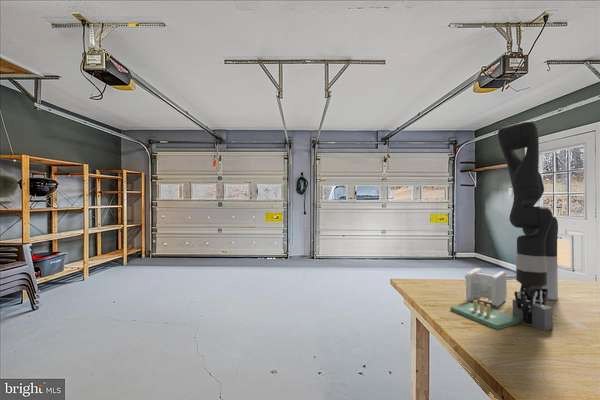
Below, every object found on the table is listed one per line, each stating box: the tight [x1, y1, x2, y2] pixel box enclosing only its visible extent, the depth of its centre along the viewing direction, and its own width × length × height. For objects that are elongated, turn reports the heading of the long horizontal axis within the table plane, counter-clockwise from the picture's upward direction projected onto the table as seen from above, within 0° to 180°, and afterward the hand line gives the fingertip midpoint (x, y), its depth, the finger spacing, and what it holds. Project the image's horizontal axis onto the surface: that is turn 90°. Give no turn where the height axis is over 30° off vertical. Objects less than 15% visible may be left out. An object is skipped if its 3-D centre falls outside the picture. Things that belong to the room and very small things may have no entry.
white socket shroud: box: [464, 267, 508, 308], centre depth 107 cm, size 15×11×12 cm
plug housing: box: [512, 298, 554, 332], centre depth 87 cm, size 4×9×7 cm, turn 22°
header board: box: [450, 299, 522, 330], centre depth 93 cm, size 12×16×5 cm
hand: (531, 321), depth 87 cm, fingers closed on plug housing, 4 cm apart
